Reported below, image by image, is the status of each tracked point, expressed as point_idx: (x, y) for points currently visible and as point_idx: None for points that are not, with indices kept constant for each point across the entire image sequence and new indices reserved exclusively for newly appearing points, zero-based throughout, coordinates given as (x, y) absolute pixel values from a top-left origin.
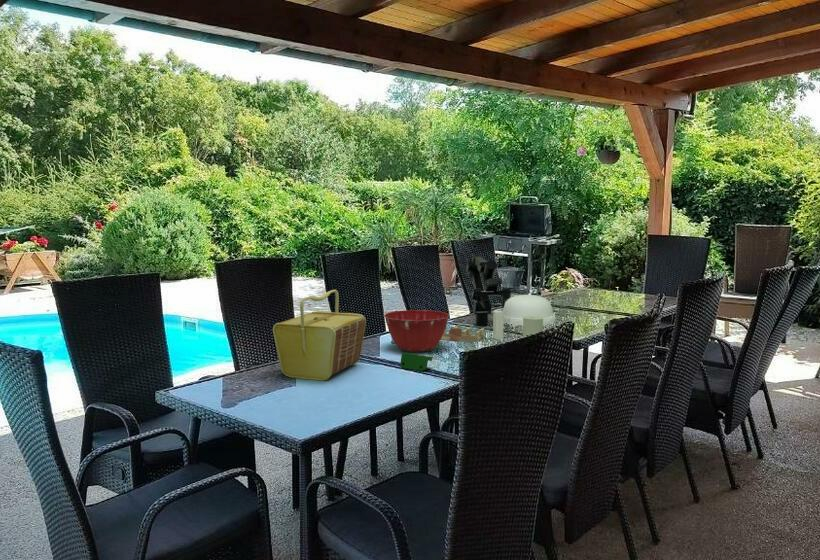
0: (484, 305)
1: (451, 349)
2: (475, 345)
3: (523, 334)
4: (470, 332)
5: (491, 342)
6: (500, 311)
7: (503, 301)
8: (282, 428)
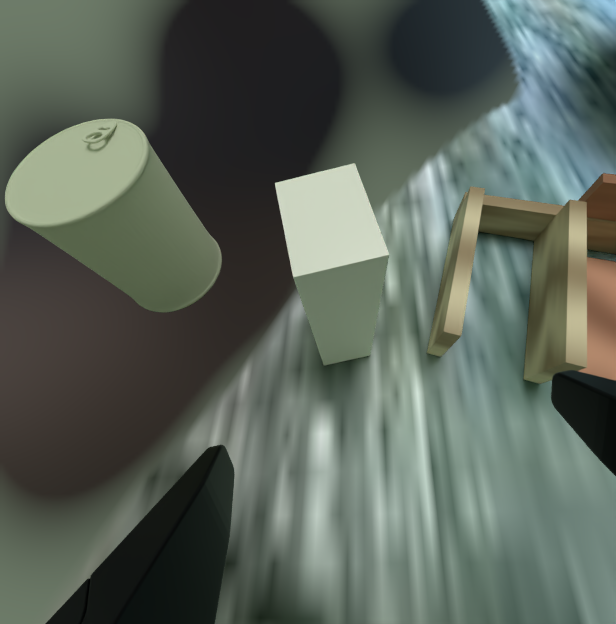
0: (598, 379)
1: (543, 109)
2: (449, 179)
3: (202, 232)
4: (544, 345)
5: None
6: (303, 216)
7: (156, 533)
8: None
